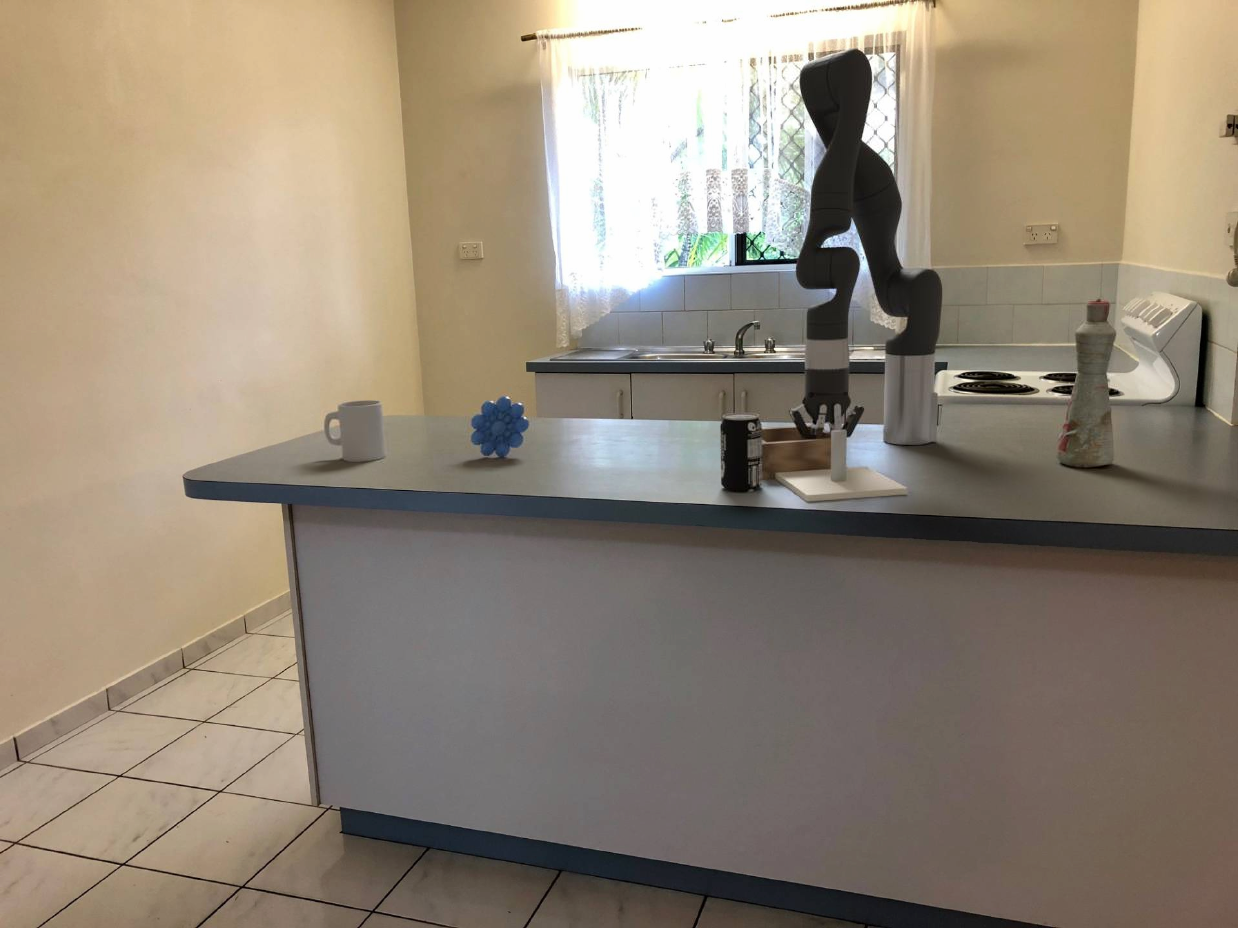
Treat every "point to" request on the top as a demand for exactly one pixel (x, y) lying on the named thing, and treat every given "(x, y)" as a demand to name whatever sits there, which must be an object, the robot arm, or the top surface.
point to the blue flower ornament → (499, 427)
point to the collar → (793, 451)
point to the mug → (359, 430)
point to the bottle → (1090, 394)
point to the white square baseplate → (839, 478)
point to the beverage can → (741, 452)
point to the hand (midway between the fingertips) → (825, 461)
